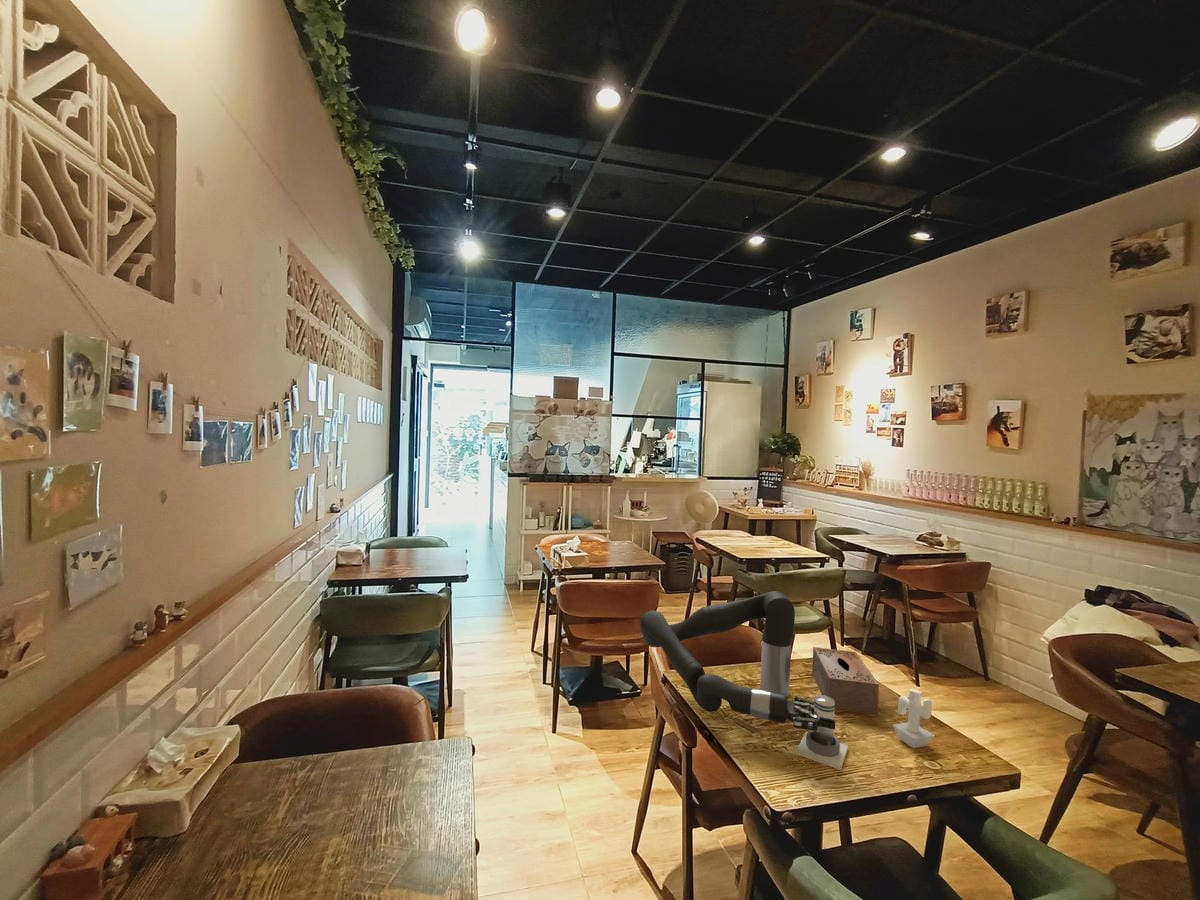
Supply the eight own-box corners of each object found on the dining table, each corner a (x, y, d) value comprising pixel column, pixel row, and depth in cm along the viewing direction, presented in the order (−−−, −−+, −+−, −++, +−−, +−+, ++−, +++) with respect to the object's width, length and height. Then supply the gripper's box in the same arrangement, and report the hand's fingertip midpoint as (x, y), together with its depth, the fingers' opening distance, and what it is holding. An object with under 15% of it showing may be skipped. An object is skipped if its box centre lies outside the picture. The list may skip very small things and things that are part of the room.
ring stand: (805, 735, 147) (806, 722, 147) (847, 749, 141) (848, 736, 141) (796, 754, 138) (796, 740, 138) (840, 770, 132) (841, 755, 132)
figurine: (908, 732, 151) (910, 681, 151) (937, 750, 142) (940, 697, 142) (888, 735, 149) (891, 683, 149) (917, 754, 140) (920, 700, 140)
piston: (814, 735, 143) (816, 692, 143) (834, 742, 140) (836, 698, 140) (810, 744, 139) (812, 700, 139) (830, 751, 136) (833, 706, 136)
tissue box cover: (812, 674, 189) (813, 647, 188) (854, 679, 186) (855, 651, 185) (828, 709, 163) (829, 678, 163) (877, 716, 160) (878, 684, 160)
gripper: (769, 706, 151) (832, 720, 145) (766, 731, 138) (835, 748, 132) (770, 681, 151) (833, 694, 145) (767, 703, 138) (837, 719, 132)
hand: (834, 719), depth 138 cm, fingers closed on piston, 5 cm apart
